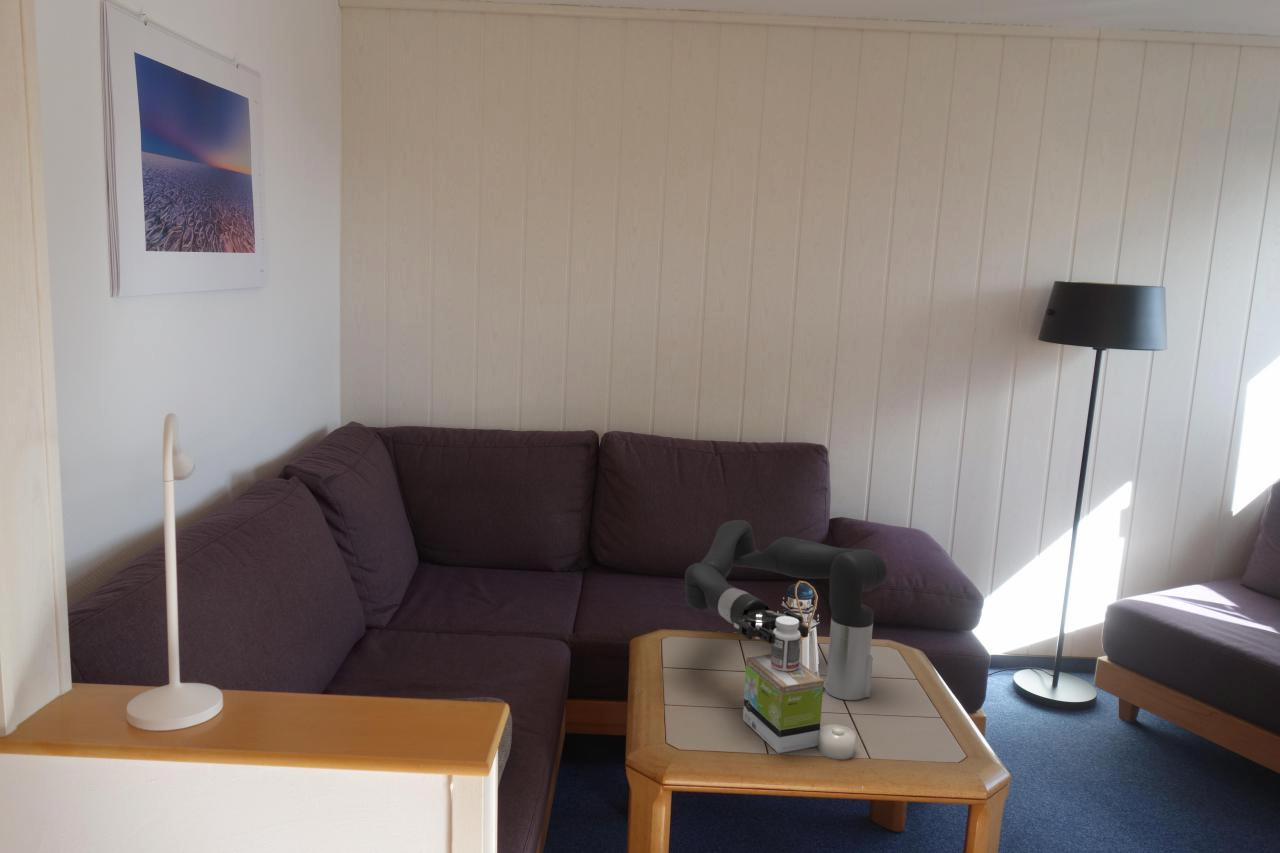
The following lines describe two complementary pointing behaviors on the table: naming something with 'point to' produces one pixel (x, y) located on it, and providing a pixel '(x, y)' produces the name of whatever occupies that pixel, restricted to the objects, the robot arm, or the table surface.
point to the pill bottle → (786, 644)
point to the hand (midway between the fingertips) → (790, 636)
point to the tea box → (783, 704)
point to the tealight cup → (837, 741)
